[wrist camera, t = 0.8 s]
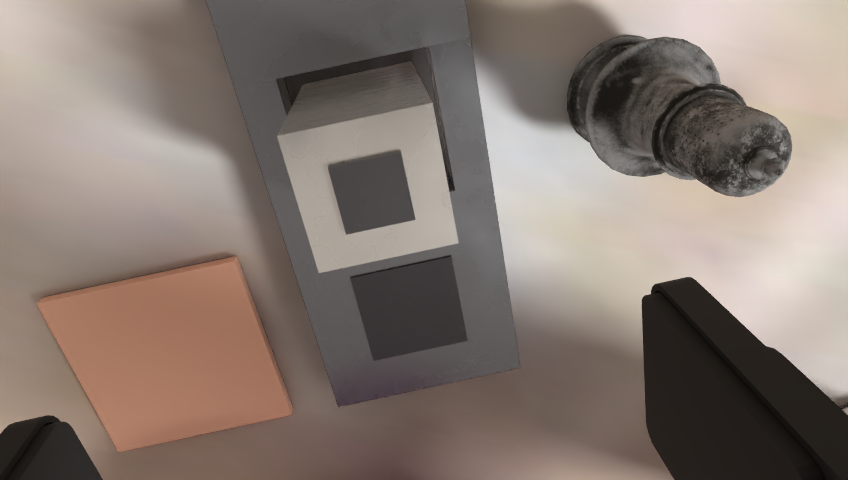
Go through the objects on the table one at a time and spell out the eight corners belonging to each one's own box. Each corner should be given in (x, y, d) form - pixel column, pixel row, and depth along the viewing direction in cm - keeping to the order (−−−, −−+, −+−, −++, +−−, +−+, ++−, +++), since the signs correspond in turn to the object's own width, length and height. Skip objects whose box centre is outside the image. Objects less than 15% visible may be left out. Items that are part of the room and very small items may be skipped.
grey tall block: (431, 165, 29) (459, 245, 21) (331, 186, 29) (318, 276, 21) (411, 61, 27) (433, 104, 19) (303, 84, 27) (276, 137, 18)
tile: (292, 407, 34) (291, 415, 34) (122, 444, 34) (118, 452, 34) (236, 255, 30) (234, 261, 29) (42, 297, 30) (36, 303, 29)
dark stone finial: (685, 135, 30) (873, 233, 19) (570, 167, 30) (690, 283, 19) (676, 13, 27) (887, 44, 16) (551, 49, 27) (676, 104, 16)
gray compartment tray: (511, 346, 34) (520, 369, 32) (339, 383, 34) (338, 408, 32) (435, -144, 24) (442, -154, 22) (189, -91, 24) (173, -96, 22)
